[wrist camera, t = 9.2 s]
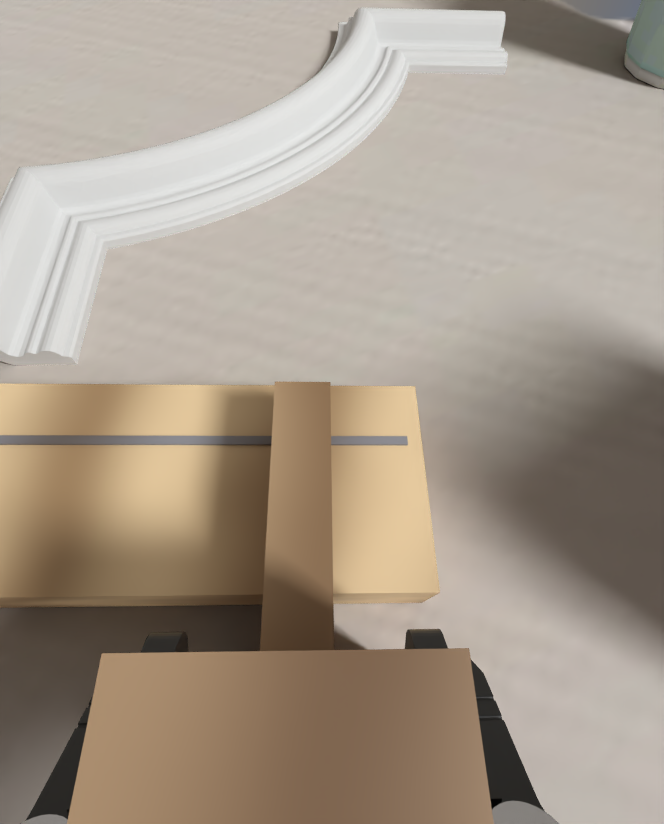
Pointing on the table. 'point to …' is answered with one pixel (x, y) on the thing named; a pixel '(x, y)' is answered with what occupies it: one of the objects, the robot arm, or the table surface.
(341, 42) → the molding
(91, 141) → the table surface
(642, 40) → the disposable coffee cup
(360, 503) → the plank
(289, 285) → the table surface
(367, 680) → the wooden block with tab
